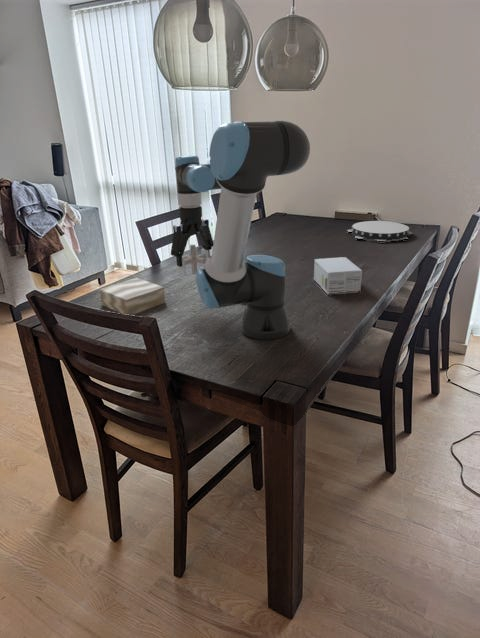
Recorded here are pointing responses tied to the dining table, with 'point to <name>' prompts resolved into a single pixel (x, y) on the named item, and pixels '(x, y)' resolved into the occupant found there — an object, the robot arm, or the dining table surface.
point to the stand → (132, 296)
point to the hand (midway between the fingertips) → (194, 271)
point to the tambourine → (380, 230)
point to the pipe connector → (194, 259)
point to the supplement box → (337, 275)
